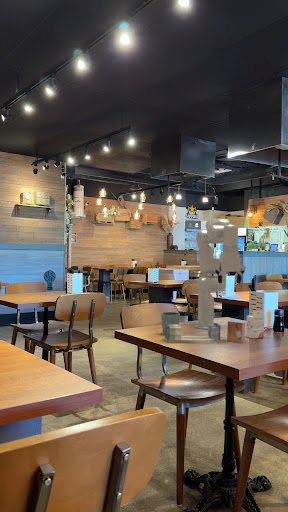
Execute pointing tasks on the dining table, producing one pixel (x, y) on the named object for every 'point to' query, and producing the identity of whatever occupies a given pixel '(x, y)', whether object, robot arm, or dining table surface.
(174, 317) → the grey green cup
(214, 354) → the dining table surface
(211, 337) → the bookshelf
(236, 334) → the small box
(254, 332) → the ink cartridge box
